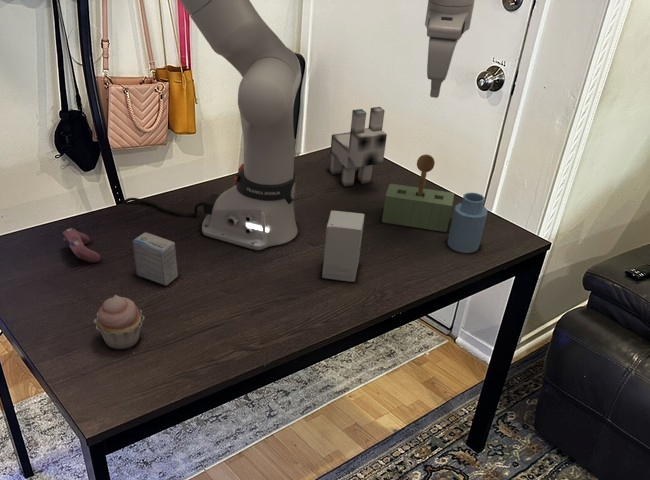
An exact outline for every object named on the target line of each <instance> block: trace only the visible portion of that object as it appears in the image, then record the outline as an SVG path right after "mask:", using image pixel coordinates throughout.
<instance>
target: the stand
mask: <svg viewBox="0 0 650 480" xmlns="http://www.w3.org/2000/svg"><path fill="white" fill-rule="evenodd" d="M418 189H419V187H416V186H409V185H403V184H396V183H389V184H388V187H387V190H386V193H385V195H384V203H383V210H382V211H383V212H382V217H381V223H384V224H390V225H391V224H392V225H396V226H397V225H398V226H404V227H409V228H416V229H423V230H429V231H436V232H441V233H447V232H448V227H449V223H450V219H451V213H452V209H453V203H454V198H455V192H451V191H445V190H444V191H443V190H437V189H431V188H430V189H429V188H424V191H423V196H422V197H421V196H417V195H418Z"/></svg>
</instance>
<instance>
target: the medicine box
mask: <svg viewBox="0 0 650 480" xmlns="http://www.w3.org/2000/svg"><path fill="white" fill-rule="evenodd" d="M132 249H133V256H134V264H135V265H134V266H135V270H136V271H135V272H136V275H137V276H138V277H141V278H144V279H146V280H149V281H152V282H154V283H157V284H159V285H161V286H165V287H166V286H168V285H169V284H171V283H172V282H173V281H174V280H175V279H177V278H178V277H179V273H178V262H177V251H176V243H175V242H174V241H172V240H169V239H167V238H163V237H161V236H158V235H155V234H153V233H149V232H147V231H145V232H143V233H142V234H140V235H139V236H137V237H136V238H135V239H133V240H132Z"/></svg>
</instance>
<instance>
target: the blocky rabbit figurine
mask: <svg viewBox="0 0 650 480" xmlns="http://www.w3.org/2000/svg"><path fill="white" fill-rule="evenodd" d="M385 113H386V112H385V109H384V108H382V107H381V106H374V107H370V111H369V120H368V127H366V120H367V112H366V110H364V109H363V108H359V109H353V110H352V112H351V122H350V131H348V132H343V133H333V134H331V139H330V140H331V141H330V151H329V162H328V163H329V165H328V172H330V174H332V175H339V174H340V176H341V177H340V184H341V185H343V187H351V186H354V183H355V176H356V172H358V175H357V181H358V182H360V184H369V183H371V182H372V173H373V166H374V165H380V164H384V158H385V151H386V144H387V138H388V137H387V136H388V133H386V132H385V131H384V130H383V125H384V118H385Z"/></svg>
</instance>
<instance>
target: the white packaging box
mask: <svg viewBox="0 0 650 480" xmlns="http://www.w3.org/2000/svg"><path fill="white" fill-rule="evenodd" d="M329 213H330V214H329V217H328V221H327V224H326V229H325V241H324V250H323V251H324V252H323V265H322V274H321V278H322V279H328V280H335V281H343V282H350V283H355V282H356V278H357V273H358V268H359V267H358V266H359V263H360V255H361V248H362V239H363V231H364V224H365V217H366V216H365V215H366V214H365V213H361V212H359V213H358V212H351V211H341V210H333V209H332V210H330V212H329Z"/></svg>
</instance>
